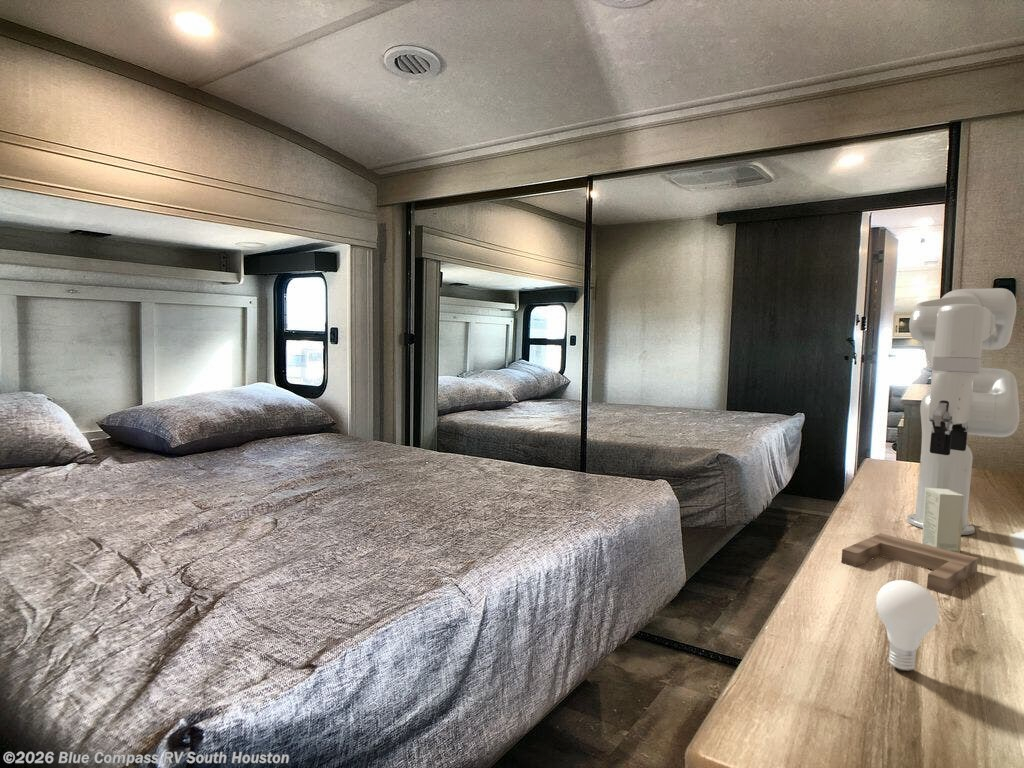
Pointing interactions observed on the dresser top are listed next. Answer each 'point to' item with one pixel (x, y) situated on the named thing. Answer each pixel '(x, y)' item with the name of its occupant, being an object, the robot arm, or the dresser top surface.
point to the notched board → (915, 559)
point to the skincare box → (942, 519)
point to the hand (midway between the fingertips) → (947, 451)
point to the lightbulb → (905, 619)
